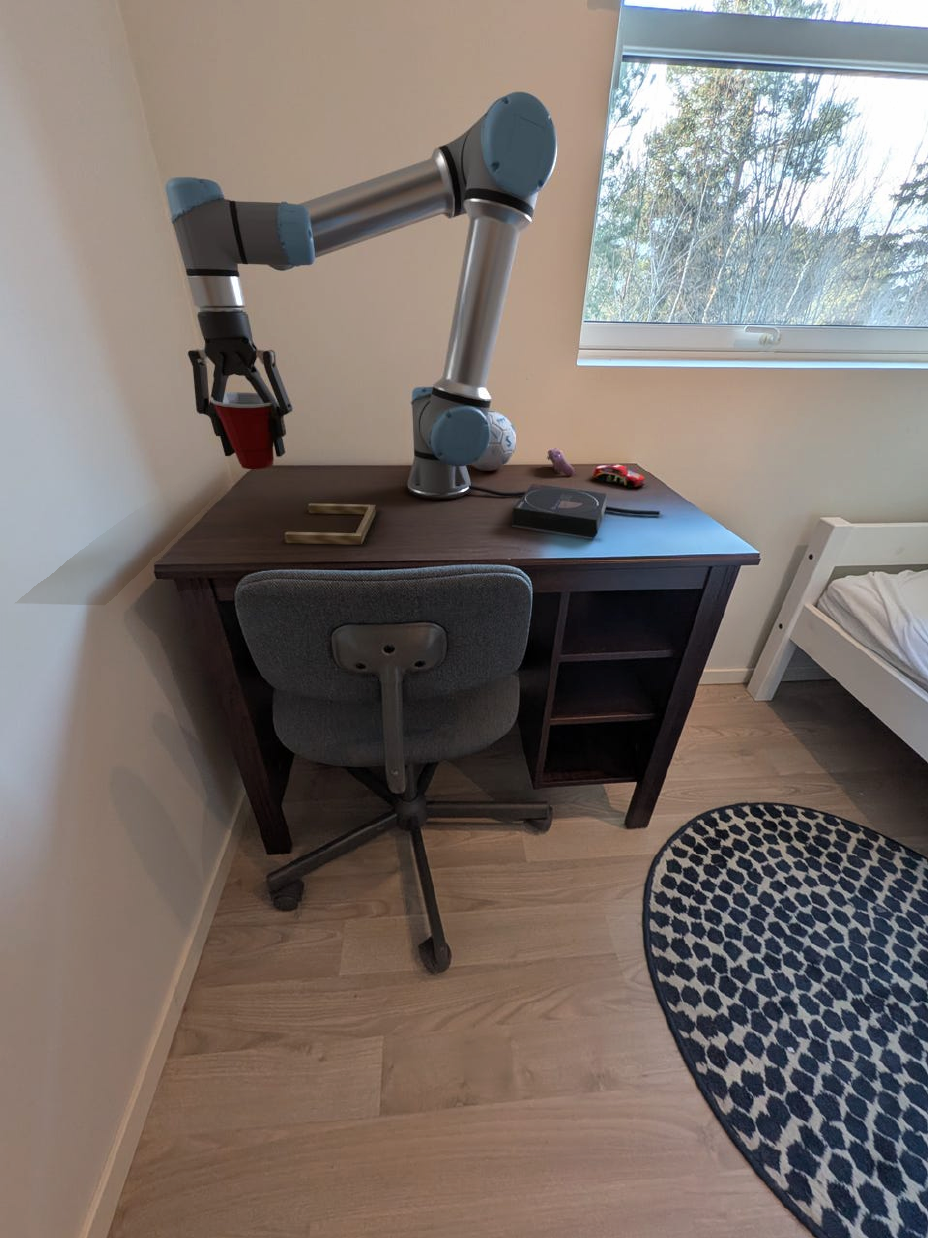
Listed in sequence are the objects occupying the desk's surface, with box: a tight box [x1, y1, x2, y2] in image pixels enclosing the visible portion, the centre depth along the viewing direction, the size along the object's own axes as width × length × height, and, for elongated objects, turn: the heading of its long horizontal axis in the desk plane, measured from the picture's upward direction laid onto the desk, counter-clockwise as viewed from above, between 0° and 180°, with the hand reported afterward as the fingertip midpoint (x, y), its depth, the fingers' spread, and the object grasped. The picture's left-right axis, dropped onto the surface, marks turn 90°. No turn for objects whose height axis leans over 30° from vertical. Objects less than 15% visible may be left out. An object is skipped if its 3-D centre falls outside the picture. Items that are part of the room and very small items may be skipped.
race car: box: [593, 463, 646, 489], centre depth 122 cm, size 13×5×4 cm, turn 50°
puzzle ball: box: [470, 410, 517, 472], centre depth 127 cm, size 15×15×15 cm
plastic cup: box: [209, 391, 277, 470], centre depth 86 cm, size 11×11×12 cm
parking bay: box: [284, 502, 377, 546], centre depth 96 cm, size 14×16×2 cm
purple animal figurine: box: [546, 447, 575, 476], centre depth 130 cm, size 10×5×7 cm, turn 5°
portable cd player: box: [511, 483, 608, 540], centre depth 101 cm, size 16×17×4 cm
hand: (255, 454), depth 89 cm, fingers closed on plastic cup, 9 cm apart
